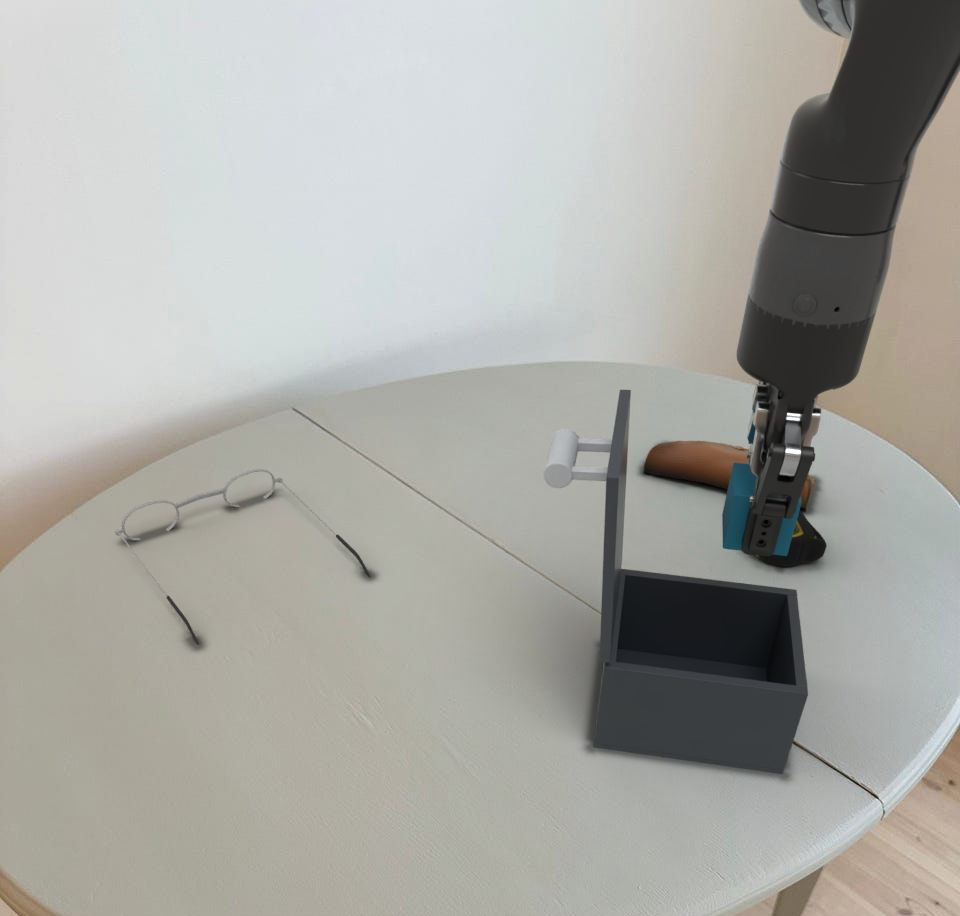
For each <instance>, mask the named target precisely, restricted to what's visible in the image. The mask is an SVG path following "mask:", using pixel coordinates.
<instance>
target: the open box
mask: <svg viewBox="0 0 960 916" xmlns="http://www.w3.org/2000/svg"><path fill="white" fill-rule="evenodd" d="M798 600H799V599H798V591H797V589H795V588H794V589H793V588H784V587H775V586H768V585H760V584H753V583H743V582H735V581H727V580H721V579H719V580H718V579H711V578H703V577H702V578H701V577H694V576H685V575H679V574H677V575H676V574H670V573H669V574H668V573H662V572H661V573H660V572H652V571H643V570H636V569H627V568H621V575H620V584H619V592H618V601H617V609H616V618H615V627H614V635H613V644H612V652H611V661H610V663H609V662H603V665H602V673H601V681H600V688H599V697H598V706H597V713H596V721H595V729H594V737H593V746H592V747H593V748H594V749H595V748H596V749H602V750H610V751H617V752H622V753H623V752H624V753H631V754H637V755H645V756H652V757H658V758H665V759H674V760H679V761H686V762H693V763H700V764H701V763H702V764H708V765H715V766H722V767H729V768H735V769H742V770H749V771H757V772H763V773H770V774H777V775H783V773H784V770H785V767H786V764H787V761H788V758H789V755H790V752H791V749H792V746H793V743H794V740H795V736H796V733H797V731H798V727H799V724H800V722H801V718H802V715H803V712H804V709H805V706H806V703H807V699H808V698H809V697H808V696H809V688H808V680H807V672H806V662H805V661H806V660H805V654H804V646H803V637H802V636H803V634H802V626H801V617H800V609H799V601H798Z"/></svg>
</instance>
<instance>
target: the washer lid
mask: <svg viewBox="0 0 960 916" xmlns="http://www.w3.org/2000/svg"><path fill="white" fill-rule="evenodd" d="M631 394H632V389H619V392H618V399H617V405H616V412H615V417H614V425H613V431H612V437H611V439H609V438H607V439H606V438H586V437H585V438H583V437H581V438H580V437H579V435H578V434H577V432H576V431H575V430H573V429H570V428H561V429H557V431H555V432H554V433H553V435H552V438H551V441H550V445H549V448H548V453H547V457H546V462H545V465H544V469H543V475H542V476H543V479H544V481H545V483H546V484H547V485H548V486H550V487H552V488H554V489H563V488H566V487H568V486H569V485H570V484H571V482H572V481H592V482H605V500H604V501H605V503H604V506H605V507H604V525H603V527H604V528H603V553H602V583H601V604H600V605H601V607H600V633H599V638H600V639H599V658H598V659H599V663H604V662H609V663H610V661H611V652H612V644H613V635H614V627H615V618H616V609H617V601H618V592H619V584H620V575H621V569H622V565H623V547H624V531H625V529H624V528H625V514H626V513H625V512H626V511H625V510H626V494H627V493H626V491H627V475H628V474H627V473H628V472H627V471H628V456H629V455H628V453H629V452H628V451H629V435H630V434H629V433H630V417H631V416H630V414H631V397H632V395H631ZM579 452H587V453H588V452H589V453H591V452H592V453H609V457H608V464H607V467H597V466H576V463H577V459H578V458H577V457H578V453H579Z"/></svg>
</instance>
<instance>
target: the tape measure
mask: <svg viewBox="0 0 960 916" xmlns="http://www.w3.org/2000/svg"><path fill="white" fill-rule="evenodd" d="M826 549H827V542H826V540H825V538H824V537H823V536H822V534H821V533H820V532H819V531H818V530H817V529H816V528H815V527H814V525H813V524H812V523H811V522H809V520H808V519H807V518H806V516H805V514H804V513H803V512H802V510H801V509H800V510H799V514H798V518H797V521H796V525H795V529H794V532H793V536H792V540H791V543H790V547H789V551H788V554H787V556H782V555H773V554H772V555H771V556H758V555H754V556H755V557H757V558H758V559H759V560H761V561H763V562H766V563H768V564H772V565H774V566H781V567H793V566H798V565H800V564H803V563H809V562H811V563H812V562H816V561H818V560H820V559H822V558H824V555H825V552H826Z"/></svg>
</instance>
